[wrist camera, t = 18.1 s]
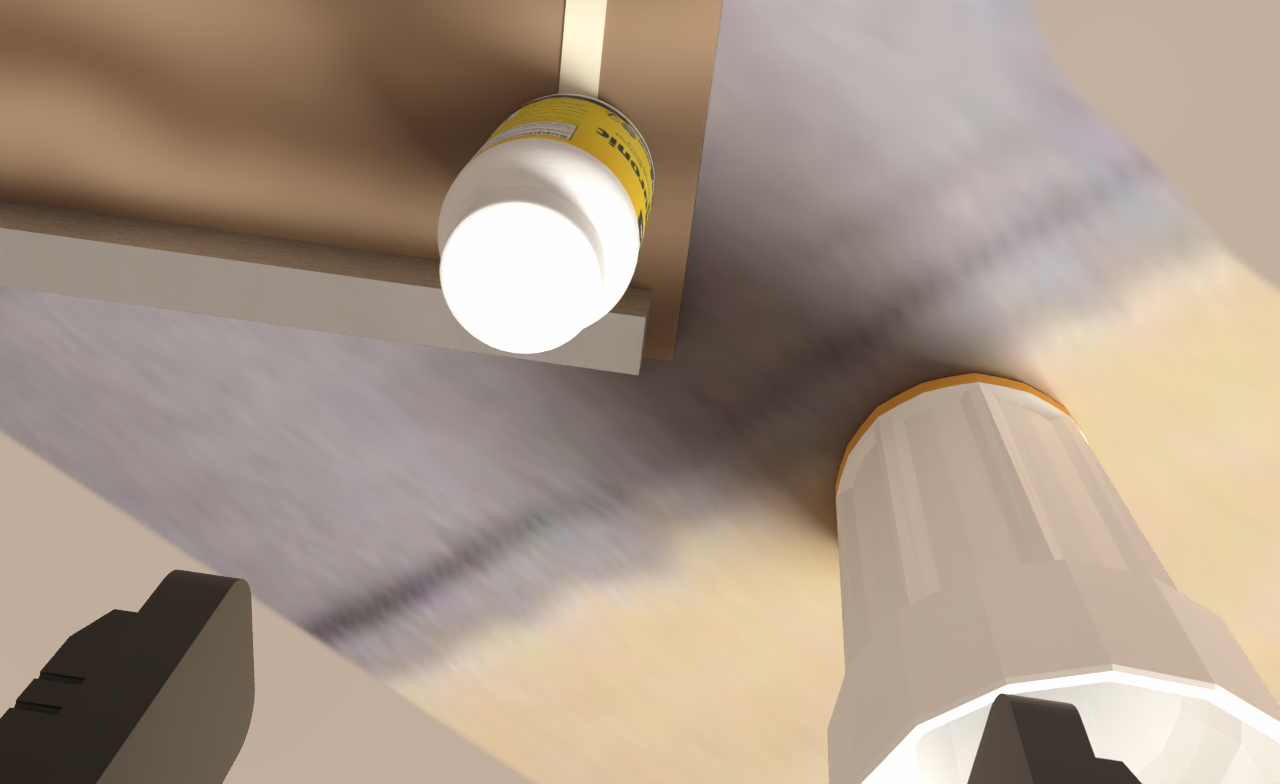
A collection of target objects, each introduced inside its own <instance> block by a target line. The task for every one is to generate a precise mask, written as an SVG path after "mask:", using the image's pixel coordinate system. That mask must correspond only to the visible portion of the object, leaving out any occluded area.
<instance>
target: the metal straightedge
mask: <svg viewBox="0 0 1280 784" xmlns="http://www.w3.org/2000/svg"><path fill="white" fill-rule="evenodd" d="M439 266H440V260H438V259H430V258H423V257H416V256H409V255H401V254H394V253H387V252H380V251H373V250H365V249H358V248H351V247H344V246H336V245H329V244H322V243H315V242H307V241H300V240H293V239H286V238H279V237H271V236H264V235H257V234H250V233H242V232H235V231H228V230H221V229H213V228H206V227H199V226H192V225H184V224H177V223H170V222H163V221H156V220H148V219H141V218H134V217H127V216H119V215H112V214H105V213H98V212H90V211H83V210H76V209H69V208H62V207H54V206H47V205H40V204H33V203H25V202H18V201H11V200H4V199H0V286H6V287H13V288H20V289H27V290H34V291H41V292H48V293H56V294H63V295H70V296H77V297H84V298H91V299H98V300H105V301H112V302H120V303H127V304H134V305H141V306H148V307H155V308H162V309H169V310H176V311H184V312H191V313H198V314H205V315H212V316H219V317H226V318H233V319H241V320H248V321H255V322H262V323H269V324H276V325H283V326H290V327H297V328H305V329H312V330H319V331H326V332H333V333H340V334H347V335H354V336H361V337H369V338H376V339H383V340H390V341H397V342H404V343H411V344H418V345H426V346H433V347H440V348H447V349H454V350H461V351H468V352H475V353H482V354H490V355H497V356H504V357H511V358H518V359H525V360H532V361H539V362H546V363H554V364H561V365H568V366H575V367H582V368H589V369H596V370H603V371H611V372H618V373H625V374H632V375H639V371H640V366H641V361H642V357H643V352H644V347H645V341H646V334H647V326H648V318H649V310H650V302H651V294H652V289H647V288H640V287H633V286H628V287H627V289H626V291H625V293H624V294H623V296H622V297H621V299H620V300H619V301H618V303H617V304H616V305H615V306H614V307H613V308H612V309H611V310H610V311H609V312H608V313H607V314H606V315H604V316H603V317H602V318H601V319H599V320H598V321H596V322H595V323H593V324H591V325H589V326H588V327H586V328H583V329H582V330H581V331H580V332H579V333H578V334H577V335H576V336H575V337H573V338H572V339H571V340H569V341H568V342H566V343H564V344H563V345H561V346H559V347H556V348H554V349H551V350H548V351H544V352H539V353H531V354H522V353H512V352H507V351H502V350H499V349H496V348H493V347H491V346H489V345H487V344H485V343H483V342H482V341H480V340H478V339H477V338H475V337H474V336H473V335H471V334H470V333H469V332H468V331H467V330H466V329H465V328H464V327H463V326H462V325H461V324H460V323H459V322H458V321H457V319H456V318H455V317H454V316H453V314H452V312H451V311H450V309H449V307H448V305H447V303H446V301H445V298H444V296H443V292H442V289H441V283H440V276H439Z"/></svg>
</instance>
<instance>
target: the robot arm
mask: <svg viewBox="0 0 1280 784" xmlns="http://www.w3.org/2000/svg"><path fill="white" fill-rule="evenodd" d="M254 691H255V688H254V660H253V633H252V608H251V592H250V588H249V585H248V583H247V582H246V581H245V580H244V579H238V578H231V577H224V576H217V575H211V574H204V573H197V572H190V571H184V570H174V571H172V572H171V573H169V574H168V575H167V576H166V577H165V578H164V580H163V581H162V582H161V583H160V585H159V586H158V587H157V589H156V590H155V591H154V593H153V594H152V595H151V596H150V598H149V599H148V600H147V601H146V603H145V604H144V605H143V606H142V608H141V609H140V610H139V612H138V613H137V612H129V611H123V610H116V609H115V610H112V611H111V612H109V613H108V614H106V615H104V616H103V617H101V618H99V619H98V620H96V621H95V622H93V623H91V624H90V625H88V626H86V627H85V628H83V629H81V630H80V631H78V632H77V633H75V634H73V635H72V636H70V637H69V638H68V639H67V640H66V642H65V643H64V644H63V645H62V646H61V648H60V649H59V650H58V651H57V652H56V654H55V655H54V656H53V657H52V658H51V659H50V661H49V662H48V663H47V664H46V665H45V667H44V668H43V669H42V670H41V671H40V676H39V678H38V679H34V680H33V681H32V682H31V683H30V684H29V685H28V687H27V688H26V689H25V690H24V691H23V693H22V694H21V695H20V696H19V697H18V698H17V700H16V704H15V707H14V708H9V709H8V710H7V711H6V713H5V714H4V715H3V716H2V717H1V719H0V784H222V783H223V781H224V779H225V777H226V775H227V774H228V772H229V770H230V768H231V766H232V765H233V763H234V761H235V759H236V757H237V756H238V754H239V752H240V750H241V748H242V746H243V743H244V741H245V738H246V735H247V732H248V729H249V725H250V721H251V717H252V712H253V705H254V695H255V694H254ZM967 784H1142V783H1141V782H1140V781H1139V780H1138V778H1137V777H1136V776H1135V775H1134V774H1133V773H1132V772H1131V771H1130V769H1129V768H1128V767H1127V766H1126V765H1125V764H1124V763H1123V761H1116V760H1110V759H1103V758H1096V757H1095V755H1094V752H1093V749H1092V746H1091V744H1090V741H1089V738H1088V735H1087V733H1086V730H1085V727H1084V724H1083V722H1082V719H1081V716H1080V714H1079V712H1078V710H1077V708H1076V707H1075V706H1074V705H1073V704H1070V703H1064V702H1058V701H1051V700H1044V699H1037V698H1031V697H1024V696H1017V695H1010V694H1003V693H1001V694H999V695H998V696H997V697H996V698H995V700H994V702H993V704H992V706H991V709H990V712H989V715H988V718H987V722H986V725H985V728H984V731H983V734H982V738H981V741H980V744H979V747H978V750H977V754H976V757H975V760H974V763H973V767H972V770H971V773H970V776H969V779H968V783H967Z"/></svg>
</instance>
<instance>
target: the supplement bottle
mask: <svg viewBox="0 0 1280 784" xmlns="http://www.w3.org/2000/svg"><path fill="white" fill-rule="evenodd" d="M654 188H655V175H654V167H653V162H652V158H651V154H650V152H649V149H648V146H647V144H646V142H645V140H644V139H643V137H642V135H641V134H640V132H639V131H638V129H637V128H636V127H635V126H634V124H633V123H632V122H631V121H630V120H629V119H628V118H627V117H626V116H625V115H624V114H623V113H621V112H620V111H619V110H617V109H616V108H614V107H613V106H611V105H609V104H607V103H606V102H604V101H601V100H599V99H596V98H593V97H589V96H585V95H580V94H553V95H548V96H545V97H542V98H538V99H535V100H533V101H531V102H529V103H527V104H525V105H523V106H522V107H520V108H518V109H517V110H516V111H514V112H513V113H512V114H511V115H510V116H508V117H507V118H506V119H505V121H504V122H503V123H502V124H501V125H500V126H499V127H498V128H497V130H496V131H495V132H494V133H493V134H492V135H491V137H490V138H489V139H488V140H487V142H486V143H485V144H484V145H483V146H482V147H481V149H480V150H479V151H478V152H477V153H476V154H475V156H474V157H473V158H472V159H471V160H470V161H469V162H468V164H467V165H466V166H465V167H464V168H463V169H462V171H461V172H460V173H459V175H458V176H457V178H456V179H455V181H454V182H453V184H452V185H451V187H450V189H449V191H448V193H447V195H446V197H445V199H444V202H443V204H442V208H441V211H440V216H439V221H438V236H437V237H438V248H439V254H440V266H439V276H440V283H441V289H442V292H443V296H444V298H445V301H446V303H447V305H448V307H449V309H450V311H451V312H452V314H453V316H454V317H455V318H456V319H457V321H458V322H459V323H460V324H461V325H462V326H463V327H464V328H465V329H466V330H467V331H468V332H469V333H470V334H471V335H473V336H474V337H475V338H477V339H478V340H480V341H482V342H483V343H485V344H487V345H489V346H491V347H493V348H496V349H499V350H502V351H507V352H512V353H522V354H531V353H539V352H544V351H548V350H551V349H554V348H556V347H559V346H561V345H563V344H564V343H566V342H568V341H569V340H571V339H572V338H573V337H575V336H576V335H577V334H578V333H579V332H580V331H581V330H582V329H583V328H586V327H588V326H589V325H591V324H593V323H595V322H596V321H598V320H599V319H601V318H602V317H603V316H604V315H606V314H607V313H608V312H609V311H610V310H611V309H612V308H613V307H614V306H615V305H616V304H617V303H618V301H619V300H620V299H621V297H622V296H623V294H624V293H625V291H626V289H627V287H628V285H629V283H630V281H631V279H632V276H633V274H634V271H635V269H636V267H637V263H638V259H639V254H640V249H641V245H642V242H643V238H644V234H645V231H646V226H647V223H648V219H649V215H650V211H651V208H652V204H653V197H654Z"/></svg>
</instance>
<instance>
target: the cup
mask: <svg viewBox="0 0 1280 784" xmlns="http://www.w3.org/2000/svg"><path fill="white" fill-rule="evenodd" d="M835 491H836V511H837V529H838V547H839V565H840V583H841V601H842V619H843V637H844V655H845V676H844V679H843V683H842V686H841V689H840V692H839V695H838V698H837V701H836V705H835V708H834V711H833V714H832V717H831V720H830V723H829V727H828V761H829V784H967V783H968V779H969V776H970V773H971V770H972V767H973V763H974V760H975V757H976V754H977V750H978V747H979V744H980V741H981V738H982V734H983V731H984V728H985V725H986V722H987V718H988V715H989V712H990V709H991V706H992V704H993V702H994V700H995V698H996V697H997V696H998V695H999V694H1001V693H1003V694H1010V695H1017V696H1024V697H1031V698H1037V699H1044V700H1051V701H1058V702H1064V703H1070V704H1073V705H1074V706H1075V707H1076V708H1077V710H1078V712H1079V714H1080V716H1081V719H1082V722H1083V724H1084V727H1085V730H1086V733H1087V735H1088V738H1089V741H1090V744H1091V746H1092V749H1093V752H1094V755H1095V757H1096V758H1103V759H1110V760H1116V761H1123V763H1124V764H1125V765H1126V766H1127V767H1128V768H1129V769H1130V771H1131V772H1132V773H1133V774H1134V775H1135V776H1136V777H1137V778H1138V780H1139V781H1140V782H1141V783H1142V784H1280V706H1279V705H1278V703H1277V702H1276V700H1275V699H1274V697H1273V696H1272V694H1271V692H1270V691H1269V689H1268V688H1267V686H1266V685H1265V683H1264V682H1263V680H1262V679H1261V677H1260V676H1259V674H1258V673H1257V671H1256V669H1255V668H1254V666H1253V665H1252V663H1251V662H1250V660H1249V659H1248V657H1247V656H1246V654H1245V653H1244V651H1243V650H1242V648H1241V646H1240V645H1239V643H1238V642H1237V640H1236V639H1235V637H1234V636H1233V634H1232V633H1231V631H1230V630H1229V628H1228V627H1227V625H1226V623H1225V622H1224V620H1223V619H1222V617H1220V616H1218V615H1217V614H1215V613H1213V612H1212V611H1210V610H1208V609H1207V608H1205V607H1203V606H1202V605H1200V604H1198V603H1197V602H1195V601H1193V600H1192V599H1190V598H1188V597H1187V596H1185V595H1183V594H1182V593H1180V592H1178V590H1177V588H1176V587H1175V585H1174V583H1173V582H1172V580H1171V579H1170V577H1169V575H1168V574H1167V572H1166V570H1165V569H1164V567H1163V565H1162V564H1161V562H1160V561H1159V559H1158V557H1157V556H1156V554H1155V552H1154V551H1153V549H1152V548H1151V546H1150V544H1149V543H1148V541H1147V539H1146V538H1145V536H1144V534H1143V533H1142V531H1141V530H1140V528H1139V526H1138V525H1137V523H1136V521H1135V520H1134V518H1133V517H1132V515H1131V513H1130V512H1129V510H1128V508H1127V507H1126V505H1125V504H1124V502H1123V500H1122V499H1121V497H1120V495H1119V494H1118V492H1117V490H1116V489H1115V487H1114V486H1113V484H1112V482H1111V481H1110V479H1109V477H1108V476H1107V474H1106V473H1105V471H1104V469H1103V468H1102V466H1101V464H1100V463H1099V461H1098V459H1097V458H1096V456H1095V455H1094V453H1093V451H1092V450H1091V448H1090V446H1089V444H1088V442H1087V440H1086V439H1085V437H1084V435H1083V434H1082V432H1081V430H1080V428H1079V427H1078V425H1077V424H1076V422H1075V421H1074V419H1073V418H1072V416H1071V415H1070V413H1069V412H1068V410H1067V409H1066V408H1065V407H1063V406H1062V405H1060V404H1059V403H1057V402H1056V401H1054V400H1053V399H1051V398H1050V397H1048V396H1047V395H1045V394H1043V393H1042V392H1040V391H1038V390H1036V389H1034V388H1032V387H1031V386H1029V385H1027V384H1025V383H1021V382H1017V381H1013V380H1009V379H1005V378H1001V377H996V376H990V375H984V374H978V373H970V374H964V375H957V376H951V377H945V378H941V379H937V380H932V381H928V382H924V383H921V384H919V385H917V386H915V387H913V388H911V389H909V390H906V391H904V392H902V393H900V394H899V395H897V396H895V397H893V398H892V399H890V400H888V401H887V402H885V403H883V404H881V405H880V406H878V407H877V408H876V409H875V410H874V411H873V412H872V413H871V415H870V416H869V417H868V418H867V419H866V421H865V422H864V423H863V424H862V425H861V427H860V428H859V429H858V431H857V432H856V434H855V435H854V436H853V438H852V439H851V441H850V442H849V444H848V445H847V448H846V451H845V454H844V457H843V459H842V462H841V465H840V469H839V473H838V477H837V481H836V485H835Z"/></svg>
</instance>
